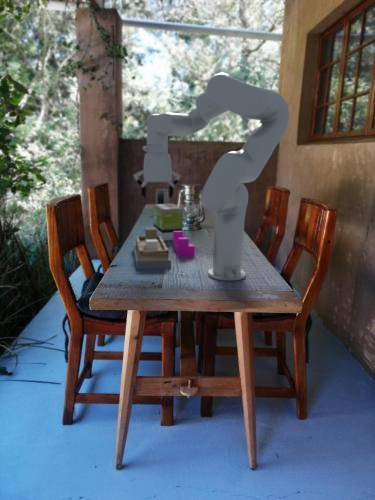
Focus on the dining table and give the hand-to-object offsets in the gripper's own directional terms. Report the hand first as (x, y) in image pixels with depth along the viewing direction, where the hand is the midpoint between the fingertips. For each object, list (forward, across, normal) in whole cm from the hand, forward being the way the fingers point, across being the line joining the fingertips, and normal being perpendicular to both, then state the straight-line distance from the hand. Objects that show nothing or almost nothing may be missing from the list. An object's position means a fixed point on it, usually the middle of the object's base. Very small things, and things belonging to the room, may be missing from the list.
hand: (157, 197), depth 150 cm
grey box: (+18, -3, -8) cm, 20 cm away
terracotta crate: (+91, -37, +9) cm, 99 cm away
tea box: (+23, +10, +36) cm, 44 cm away
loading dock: (+23, -3, -1) cm, 23 cm away
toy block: (+24, +12, +7) cm, 27 cm away
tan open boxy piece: (+20, -3, -2) cm, 20 cm away
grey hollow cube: (+23, +21, +98) cm, 103 cm away
